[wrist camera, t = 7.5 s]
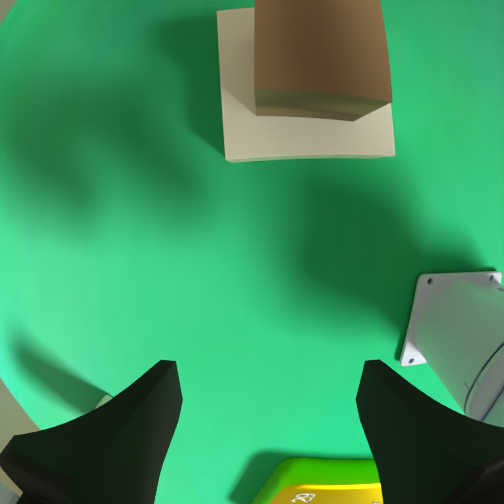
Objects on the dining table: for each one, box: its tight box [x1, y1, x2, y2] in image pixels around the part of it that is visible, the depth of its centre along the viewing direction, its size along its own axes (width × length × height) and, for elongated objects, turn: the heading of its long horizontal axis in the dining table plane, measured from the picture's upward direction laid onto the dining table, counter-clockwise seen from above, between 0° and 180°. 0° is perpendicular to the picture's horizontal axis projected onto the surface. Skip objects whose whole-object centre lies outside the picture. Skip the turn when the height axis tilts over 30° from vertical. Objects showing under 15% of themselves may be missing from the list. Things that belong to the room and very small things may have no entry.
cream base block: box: [217, 8, 395, 163], centre depth 15 cm, size 9×9×4 cm
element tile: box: [251, 457, 383, 504], centre depth 25 cm, size 15×15×5 cm
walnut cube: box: [254, 0, 392, 122], centre depth 11 cm, size 5×5×5 cm
